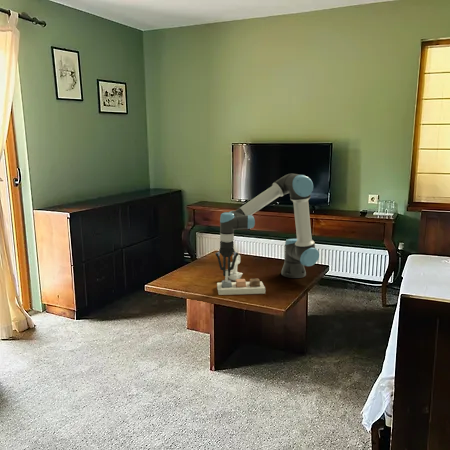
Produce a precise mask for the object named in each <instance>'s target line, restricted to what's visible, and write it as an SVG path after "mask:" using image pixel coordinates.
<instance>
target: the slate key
mask: <svg viewBox="0 0 450 450" xmlns="http://www.w3.org/2000/svg"><path fill="white" fill-rule="evenodd" d="M221 282H222V288H231V287H232V283H231V282H232V280H230V279H228V282H225V280H221Z"/></svg>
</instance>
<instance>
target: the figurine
mask: <svg viewBox="0 0 450 450" xmlns="http://www.w3.org/2000/svg"><path fill="white" fill-rule="evenodd" d="M233 257H234V255H232V258H233ZM240 263H241V255H240V254H238V256H237V257H236V261H235V265H234V269H233V270H230V276H228V280H231V281H233V282H236V279H242V276H243V274H244V273H243V272H239V271H238V265H239V264H240ZM231 265H232V261H230V267H231Z"/></svg>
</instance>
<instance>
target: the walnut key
mask: <svg viewBox="0 0 450 450" xmlns="http://www.w3.org/2000/svg"><path fill="white" fill-rule="evenodd" d="M249 282H250V287H260V279H259V278H249Z"/></svg>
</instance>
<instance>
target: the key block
mask: <svg viewBox="0 0 450 450" xmlns="http://www.w3.org/2000/svg"><path fill="white" fill-rule="evenodd" d="M231 283H232V287H231V288H222V281H221V282H217V283H216V289H217V293H218V296H219V295H220V296H222V295H223V296H228V295H230V296H231V295H263V294H265V295H266V286H265V285H264V283H263V281H260V287H250V281H246V287H236V281H231Z"/></svg>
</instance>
